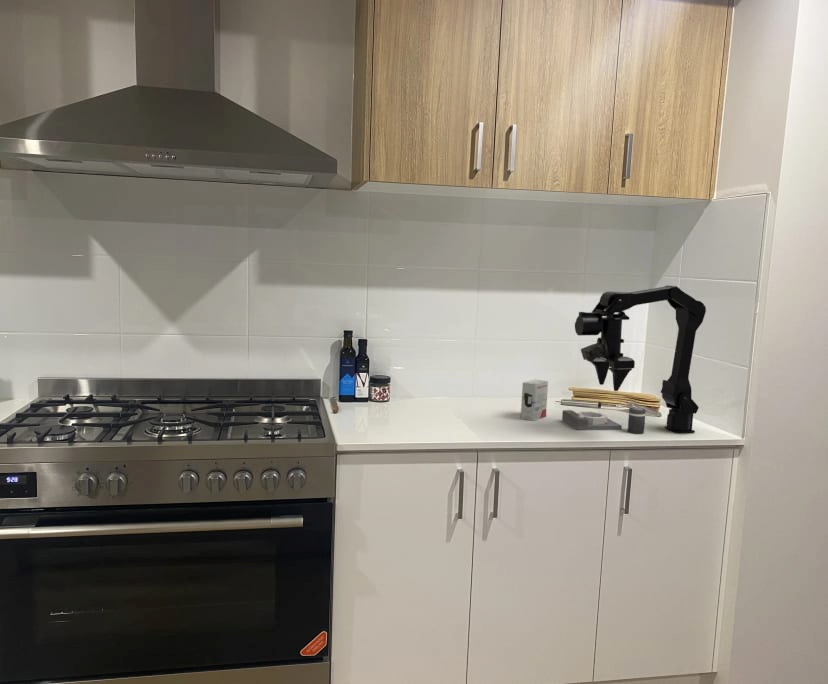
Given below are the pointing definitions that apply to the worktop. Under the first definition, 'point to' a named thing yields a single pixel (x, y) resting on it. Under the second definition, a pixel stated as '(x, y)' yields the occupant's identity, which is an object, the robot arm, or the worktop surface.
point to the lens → (636, 420)
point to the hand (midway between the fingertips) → (608, 387)
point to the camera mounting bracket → (589, 420)
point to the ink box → (534, 399)
